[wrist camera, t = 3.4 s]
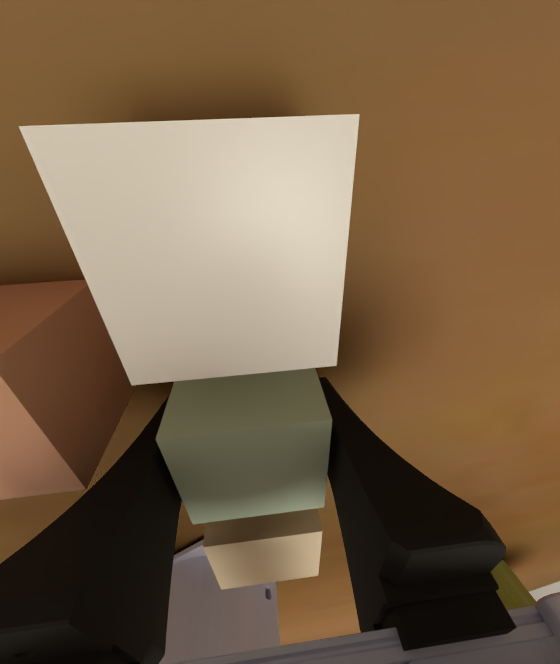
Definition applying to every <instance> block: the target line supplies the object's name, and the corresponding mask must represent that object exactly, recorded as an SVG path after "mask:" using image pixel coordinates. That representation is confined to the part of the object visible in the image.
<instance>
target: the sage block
mask: <svg viewBox="0 0 560 664" xmlns="http://www.w3.org/2000/svg"><path fill="white" fill-rule="evenodd" d="M331 428H332V417H331V414H330V411H329V408H328V405H327V402H326V399H325V396H324V393H323V390H322V387H321V384H320V381H319V378H318V375H317V371H316V368H308V369H298V370H288V371H277V372H267V373H256V374H246V375H235V376H225V377H214V378H204V379H194V380H183V381H174V383H173V387H172V390H171V393H170V396H169V399H168V402H167V405H166V408H165V411H164V414H163V417H162V421H161V424H160V427H159V430H158V433H157V436H156V441H157V444H158V446H159V448H160V451H161V453H162V455H163V457H164V460H165V462H166V464H167V467H168V469H169V471H170V473H171V476H172V478H173V480H174V483H175V485H176V487H177V490H178V492H179V494H180V496H181V499H182V501H183V503H184V506H185V508H186V510H187V513H188V515H189V517H190V519H191V522H192V524H200V523H208V522H215V521H223V520H231V519H238V518H246V517H254V516H261V515H269V514H277V513H284V512H292V511H300V510H307V509H315V508H323V507H324V504H325V494H326V483H327V472H328V461H329V450H330V439H331Z"/></svg>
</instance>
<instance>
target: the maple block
mask: <svg viewBox="0 0 560 664" xmlns="http://www.w3.org/2000/svg"><path fill="white" fill-rule="evenodd" d="M321 540H322V527H321V522H320V517H319V512H318V508H315V509H307V510H300V511H292V512H284V513H277V514H269V515H261V516H254V517H246V518H238V519H231V520H223V521H215V522H208V523H206V525H205V534H204V543H203V549H204V551H205V553H206V556H207V558H208V560H209V562H210V565H211V567H212V569H213V572H214V574H215V576H216V579H217V581H218V583H219V586H220V588H221V590H223V589H229V588H236V587H243V586H250V585H257V584H264V583H271V582H277V581H284V580H291V579H298V578H305V577H312V576H318V572H319V561H320V551H321Z"/></svg>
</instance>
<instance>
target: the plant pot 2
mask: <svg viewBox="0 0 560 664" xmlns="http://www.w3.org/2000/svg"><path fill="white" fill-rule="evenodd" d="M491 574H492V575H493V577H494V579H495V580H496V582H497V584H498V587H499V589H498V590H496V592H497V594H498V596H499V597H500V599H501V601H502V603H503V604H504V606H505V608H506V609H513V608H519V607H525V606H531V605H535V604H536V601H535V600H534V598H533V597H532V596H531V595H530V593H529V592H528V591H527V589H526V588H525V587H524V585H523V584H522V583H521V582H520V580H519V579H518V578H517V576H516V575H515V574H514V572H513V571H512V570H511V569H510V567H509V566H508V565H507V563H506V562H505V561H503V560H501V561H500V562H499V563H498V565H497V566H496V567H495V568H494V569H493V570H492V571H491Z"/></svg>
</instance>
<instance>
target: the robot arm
mask: <svg viewBox="0 0 560 664" xmlns="http://www.w3.org/2000/svg"><path fill="white" fill-rule="evenodd" d="M319 381H320V384H321V387H322V390H323V393H324V396H325V399H326V402H327V405H328V408H329V411H330V414H331V417H332V428H331V439H330V450H329V461H328V472H327V474H328V478H329V481H330V484H331V488H332V491H333V495H334V500H335V504H336V509H337V514H338V518H339V523H340V528H341V532H342V537H343V542H344V547H345V552H346V557H347V562H348V567H349V572H350V577H351V582H352V588H353V593H354V598H355V604H356V609H357V615H358V620H359V626H360V631H361V633H357V634H351V635H345V636H339V637H332V638H326V639H320V640H314V641H307V642H301V643H295V644H289V645H283V646H280V635H279V620H278V606H277V591H276V582H271V583H264V584H257V585H250V586H243V587H236V588H229V589H223V590H221V588H220V586H219V583H218V581H217V579H216V576H215V574H214V572H213V569H212V567H211V565H210V562H209V560H208V558H207V556H206V553H205V551H204V549H203V543H204V540H201V541H199V542H198V543H196V544H194V545H192V546H190V547H188V548H186V549H185V550H183V551H181V552H179V553H177V554H175V555H174V550H175V541H176V533H177V526H178V518H179V511H180V506H181V501H182V499H181V496H180V494H179V492H178V490H177V487H176V485H175V483H174V480H173V478H172V476H171V473H170V471H169V469H168V467H167V464H166V462H165V460H164V457H163V455H162V453H161V451H160V448H159V446H158V444H157V441H156V436H157V433H158V430H159V427H160V424H161V421H162V417H163V414H164V411H165V408H166V405H167V402H168V399H169V396H170V395H169V396H168V397H167V399H166V400H165V402H164V403H163V404H162V406H161V407H160V409H159V410H158V411H157V413H156V414H155V415H154V417H153V418H152V419H151V421H150V422H149V423H148V425H147V426H146V427H145V428H144V430H143V431H142V432H141V434H140V435H139V436H138V437H137V439H136V440H135V441H134V442H133V443H132V445H131V446H130V447H129V448H128V449H127V450H126V452H125V453H124V454H123V455H122V456H121V457H120V459H119V460H118V461H117V462H116V463H115V464H114V465H113V466H112V467H111V468H110V469H109V471H108V472H107V473H106V474H105V475H104V476H103V477H102V478H101V479H100V480H99V481H98V482H97V483H96V484H95V485H94V486H93V487H92V488H91V489H90V490H89V491H87V492H86V493H85V494H84V495H83V496H82V497H81V498H80V499H79V500H78V501H77V502H76V503H75V504H73V505H72V506H71V507H70V508H69V509H68V510H67V511H66V512H65V513H63V514H62V515H61V516H60V517H59V518H58V519H56V520H55V521H54V522H53V523H52V524H51V525H49V526H48V527H47V528H46V529H44V530H43V531H42V532H41V533H40V534H38V535H37V536H36V537H35V538H33V539H32V540H31V541H30V542H28V543H27V544H26V545H25V546H23V547H22V548H21V549H19V550H18V551H17V552H15V553H14V554H13V555H11V556H10V557H9V558H7V559H6V560H5V561H3V562H2V563H1V564H0V664H560V592H558V593H554V594H550V595H547V596H545V597H543V598H541V599H539V600H538V601H537V602H536V604H535V605H531V606H525V607H519V608H513V609H506V608H505V606H504V604H503V603H502V601H501V599H500V597H499V596H498V594H497V592H496V590H498V589H499V587H498V584H497V582H496V580H495V579H494V577H493V575H492V574H491V571H492V570H493V569H494V568H495V567H496V566H497V565H498V563H499V562H500V561H501V560H502V559H503V558H504V556H505V553H506V546H505V545H504V543H503V542H502V540H501V539H500V537H499V536H498V534H497V533H496V531H495V530H494V529H493V527H492V526H491V524H490V523H489V522H488V520H487V519H486V518H485V517H484V515H483V514H482V513H481V511H480V510H478V509H477V508H475V507H473V506H472V505H470V504H469V503H467V502H465V501H464V500H462V499H460V498H459V497H457V496H455V495H454V494H452V493H451V492H449V491H447V490H446V489H444V488H443V487H441V486H440V485H438V484H437V483H435V482H434V481H432V480H431V479H429V478H428V477H427V476H425V475H424V474H423V473H421V472H420V471H419V470H417V469H416V468H415V467H413V466H412V465H411V464H409V463H408V462H407V461H405V460H404V459H403V458H402V457H400V456H399V455H398V454H397V453H396V452H394V451H393V450H392V449H391V448H390V447H389V446H387V445H386V444H385V443H384V442H383V441H382V440H381V439H380V438H378V437H377V436H376V435H375V434H374V433H373V432H372V431H371V430H370V429H369V428H368V427H367V426H366V425H365V424H364V423H363V422H362V421H361V420H360V418H359V417H358V416H357V415H356V414H355V413H354V412H353V411H352V410H351V408H350V407H349V406H348V405H347V404H346V403H345V401H344V400H343V399H342V398H341V397H340V395H339V394H338V393H337V392H336V390H335V389H334V388H333V386H332V385H331V384H330V382H329V381H328V379H327V378H325V377H323V378H319Z"/></svg>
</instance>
